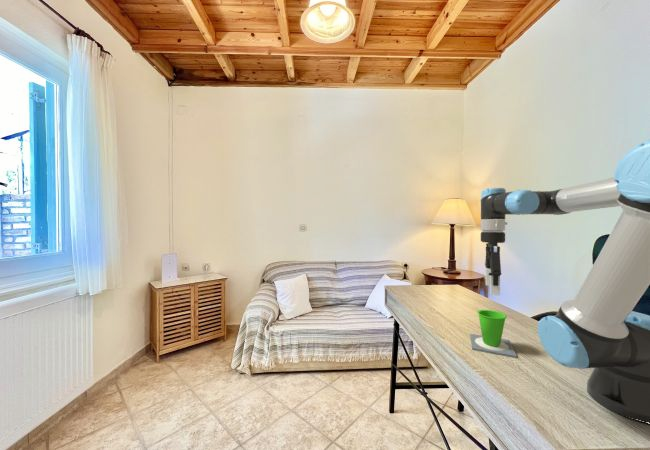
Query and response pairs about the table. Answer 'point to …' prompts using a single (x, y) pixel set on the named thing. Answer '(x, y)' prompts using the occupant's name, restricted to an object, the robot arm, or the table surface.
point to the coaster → (502, 349)
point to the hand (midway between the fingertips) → (492, 289)
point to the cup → (491, 326)
